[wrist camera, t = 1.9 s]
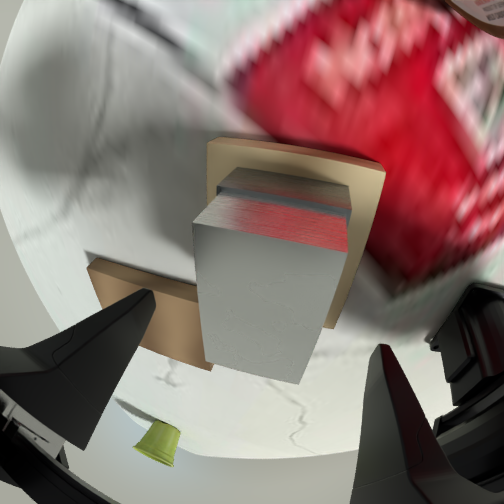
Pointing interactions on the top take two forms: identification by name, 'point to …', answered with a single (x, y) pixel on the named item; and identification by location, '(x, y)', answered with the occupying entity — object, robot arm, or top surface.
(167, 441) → the plant pot
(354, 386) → the top surface
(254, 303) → the block
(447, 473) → the robot arm
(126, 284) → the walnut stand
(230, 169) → the oak stand
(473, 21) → the tin
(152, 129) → the top surface
